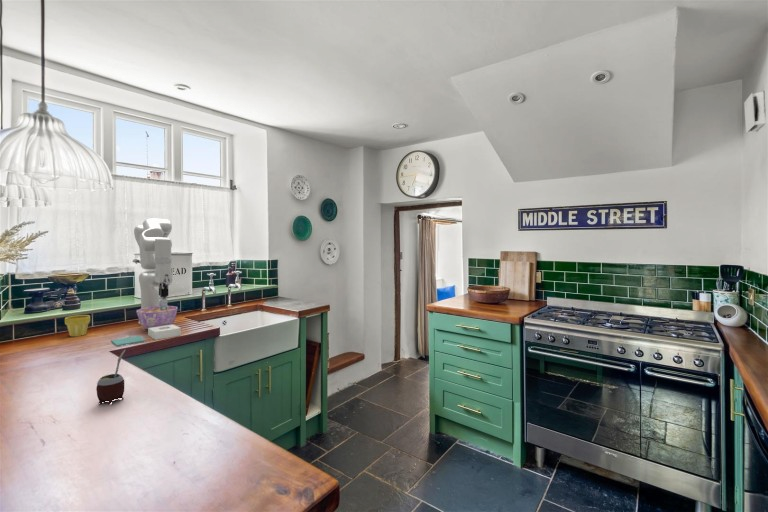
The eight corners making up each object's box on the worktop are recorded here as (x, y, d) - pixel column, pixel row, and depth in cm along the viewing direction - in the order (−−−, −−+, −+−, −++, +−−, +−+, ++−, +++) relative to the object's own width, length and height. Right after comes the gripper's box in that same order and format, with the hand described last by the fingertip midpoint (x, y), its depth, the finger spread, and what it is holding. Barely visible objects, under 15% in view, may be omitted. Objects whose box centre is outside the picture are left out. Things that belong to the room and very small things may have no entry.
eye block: (148, 335, 192) (148, 328, 191) (173, 331, 201) (172, 324, 200) (155, 339, 184) (155, 332, 183) (180, 335, 192) (180, 328, 192)
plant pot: (91, 331, 199) (91, 314, 199) (89, 335, 190) (88, 317, 190) (67, 334, 193) (66, 316, 193) (63, 338, 185) (62, 319, 184)
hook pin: (159, 309, 192) (159, 285, 191) (166, 308, 194) (165, 285, 193) (161, 310, 189) (161, 286, 189) (168, 309, 192) (167, 285, 191)
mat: (111, 341, 180) (111, 340, 180) (139, 337, 189) (139, 335, 189) (117, 346, 172) (116, 344, 172) (146, 341, 181) (146, 339, 181)
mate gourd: (95, 408, 109) (94, 360, 108) (98, 399, 116) (97, 353, 115) (126, 402, 113) (124, 355, 113) (127, 393, 120) (125, 349, 119)
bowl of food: (146, 335, 192) (146, 314, 191) (130, 330, 203) (129, 309, 202) (184, 328, 208) (184, 308, 208) (167, 323, 219) (167, 304, 219)
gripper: (150, 260, 193) (150, 294, 194) (160, 262, 182) (160, 298, 183) (165, 260, 199) (166, 293, 200) (176, 261, 188) (176, 296, 189)
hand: (163, 295), depth 191 cm, fingers closed on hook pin, 3 cm apart
